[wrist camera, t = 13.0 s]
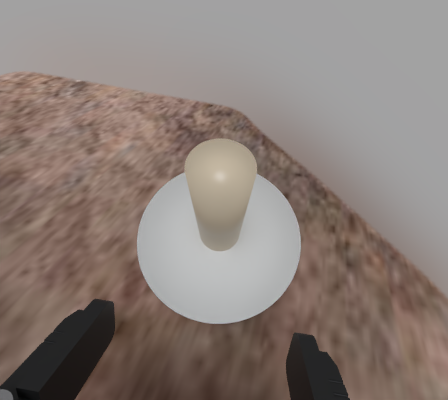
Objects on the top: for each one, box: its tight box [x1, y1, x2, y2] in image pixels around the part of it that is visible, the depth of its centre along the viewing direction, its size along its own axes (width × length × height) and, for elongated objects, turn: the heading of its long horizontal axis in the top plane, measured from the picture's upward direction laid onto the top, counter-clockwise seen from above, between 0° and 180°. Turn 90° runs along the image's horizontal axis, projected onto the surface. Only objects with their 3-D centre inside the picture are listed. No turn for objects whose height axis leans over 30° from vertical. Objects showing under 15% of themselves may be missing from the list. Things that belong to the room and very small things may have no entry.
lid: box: [137, 139, 301, 324], centre depth 14 cm, size 13×13×10 cm
